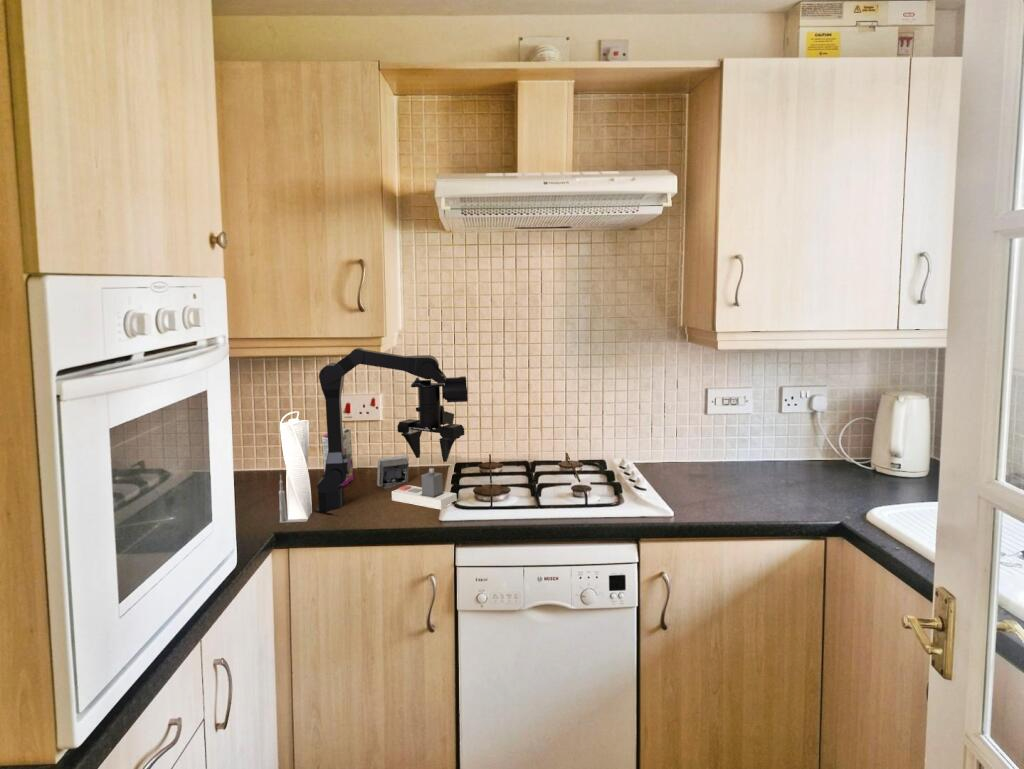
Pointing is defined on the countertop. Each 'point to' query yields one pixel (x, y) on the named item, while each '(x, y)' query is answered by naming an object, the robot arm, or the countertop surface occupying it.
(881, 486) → the countertop surface
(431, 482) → the block
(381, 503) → the countertop surface
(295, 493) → the skyscraper
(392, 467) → the electrical switch
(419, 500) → the power strip
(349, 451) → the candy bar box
